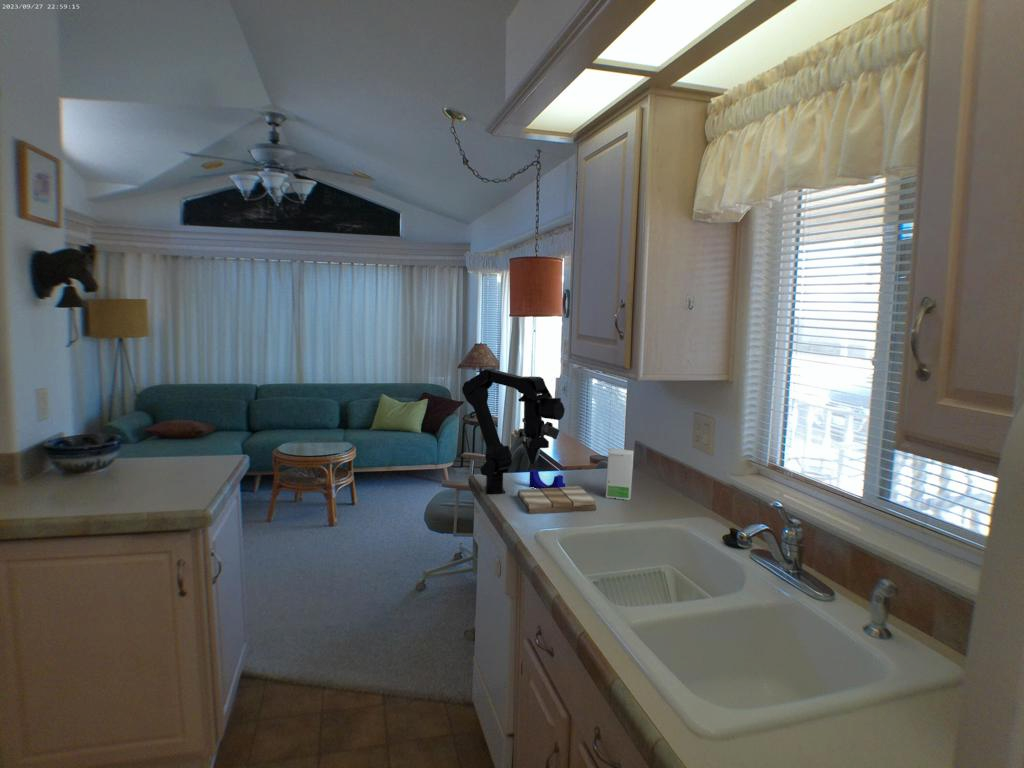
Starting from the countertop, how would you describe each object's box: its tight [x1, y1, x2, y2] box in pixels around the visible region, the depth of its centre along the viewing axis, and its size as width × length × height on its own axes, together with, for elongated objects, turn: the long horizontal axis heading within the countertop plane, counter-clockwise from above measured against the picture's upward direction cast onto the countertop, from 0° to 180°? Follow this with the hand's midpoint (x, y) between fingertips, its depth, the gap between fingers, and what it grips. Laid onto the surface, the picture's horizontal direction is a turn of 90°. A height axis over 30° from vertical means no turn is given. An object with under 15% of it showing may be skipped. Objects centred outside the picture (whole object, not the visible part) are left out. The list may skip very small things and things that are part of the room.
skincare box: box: [605, 447, 634, 501], centre depth 200 cm, size 8×7×16 cm
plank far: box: [559, 485, 596, 506], centre depth 194 cm, size 16×7×1 cm, turn 11°
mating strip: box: [540, 488, 572, 507], centre depth 193 cm, size 16×6×1 cm, turn 11°
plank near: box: [517, 488, 552, 508], centre depth 191 cm, size 16×7×1 cm, turn 11°
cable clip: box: [529, 469, 566, 489], centre depth 208 cm, size 12×4×6 cm, turn 50°
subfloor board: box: [516, 492, 597, 515], centre depth 193 cm, size 18×21×2 cm
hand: (531, 464), depth 194 cm, fingers closed
